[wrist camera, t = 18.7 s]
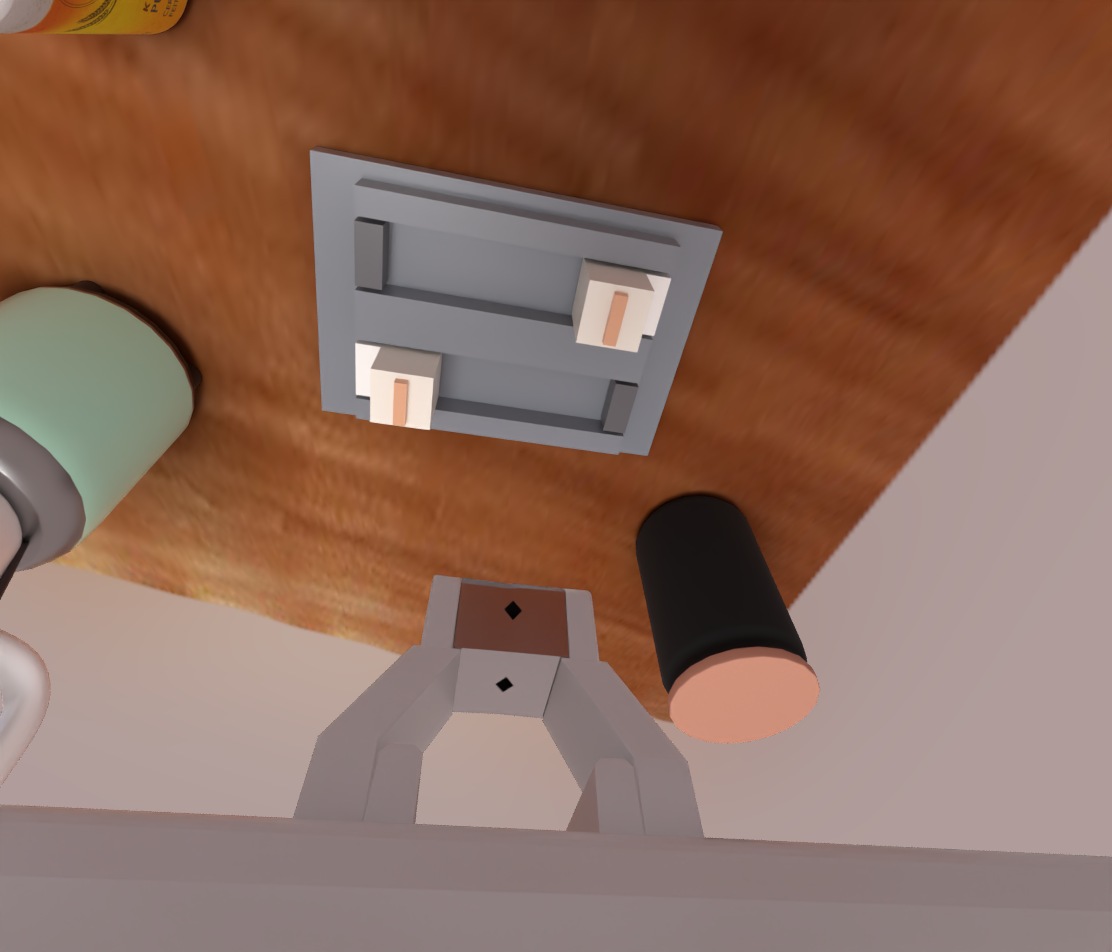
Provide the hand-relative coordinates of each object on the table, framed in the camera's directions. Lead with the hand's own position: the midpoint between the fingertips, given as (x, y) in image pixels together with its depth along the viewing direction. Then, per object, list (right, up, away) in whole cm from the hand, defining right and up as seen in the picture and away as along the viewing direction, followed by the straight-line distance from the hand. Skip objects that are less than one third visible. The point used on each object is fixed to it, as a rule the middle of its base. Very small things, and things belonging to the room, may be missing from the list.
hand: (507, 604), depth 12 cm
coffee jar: (+14, -3, +45) cm, 47 cm away
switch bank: (-3, +14, +32) cm, 35 cm away
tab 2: (+4, +15, +29) cm, 33 cm away
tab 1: (-10, +10, +32) cm, 35 cm away
